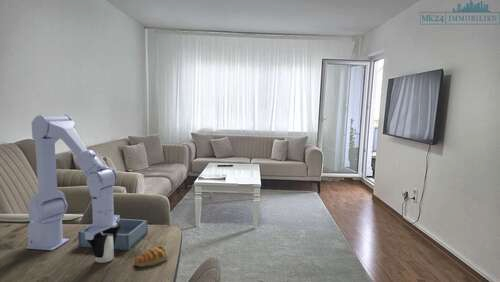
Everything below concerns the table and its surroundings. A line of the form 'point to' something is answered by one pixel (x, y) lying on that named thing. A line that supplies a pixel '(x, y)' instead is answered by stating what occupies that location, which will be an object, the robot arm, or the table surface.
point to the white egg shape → (107, 249)
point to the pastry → (151, 257)
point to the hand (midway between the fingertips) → (104, 252)
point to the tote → (122, 234)
